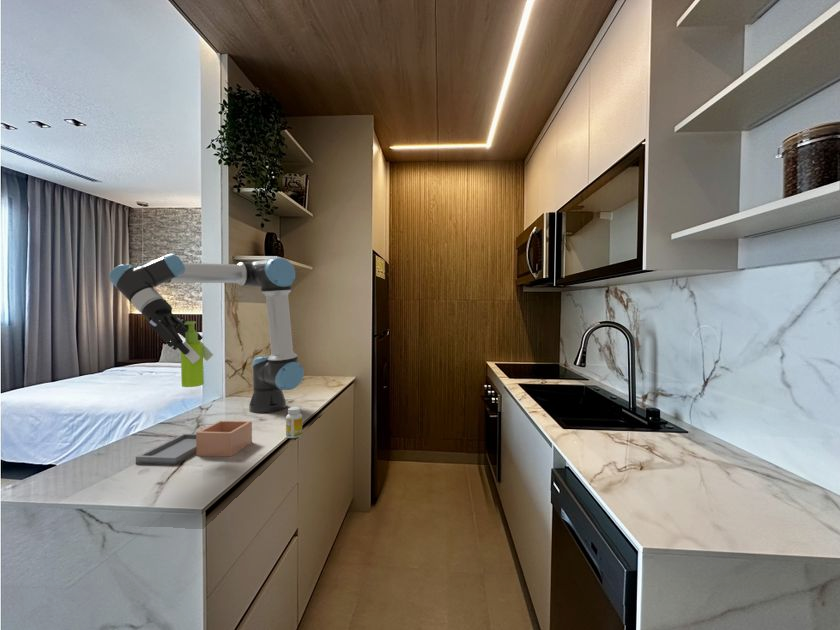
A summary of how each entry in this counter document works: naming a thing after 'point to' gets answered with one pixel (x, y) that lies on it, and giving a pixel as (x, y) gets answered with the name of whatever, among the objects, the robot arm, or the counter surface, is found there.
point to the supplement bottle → (294, 423)
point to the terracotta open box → (224, 438)
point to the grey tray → (170, 451)
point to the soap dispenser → (190, 371)
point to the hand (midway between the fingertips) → (203, 358)
